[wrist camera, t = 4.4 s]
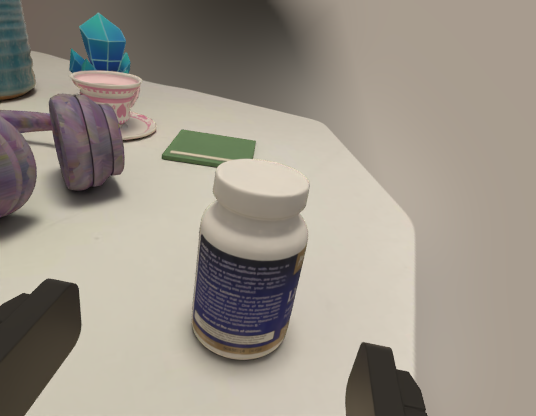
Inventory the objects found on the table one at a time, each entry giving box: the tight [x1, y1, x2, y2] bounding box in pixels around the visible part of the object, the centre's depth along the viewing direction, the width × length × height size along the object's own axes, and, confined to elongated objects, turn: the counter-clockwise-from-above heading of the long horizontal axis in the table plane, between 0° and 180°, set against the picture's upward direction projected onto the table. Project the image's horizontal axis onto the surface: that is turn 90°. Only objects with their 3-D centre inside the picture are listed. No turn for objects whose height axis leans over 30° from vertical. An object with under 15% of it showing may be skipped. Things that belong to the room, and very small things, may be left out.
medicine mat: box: [162, 130, 256, 167], centre depth 50 cm, size 10×10×1 cm
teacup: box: [69, 71, 156, 140], centre depth 51 cm, size 12×12×6 cm
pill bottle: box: [192, 159, 310, 360], centre depth 22 cm, size 6×6×10 cm
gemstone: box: [69, 13, 130, 95], centre depth 60 cm, size 7×9×12 cm
